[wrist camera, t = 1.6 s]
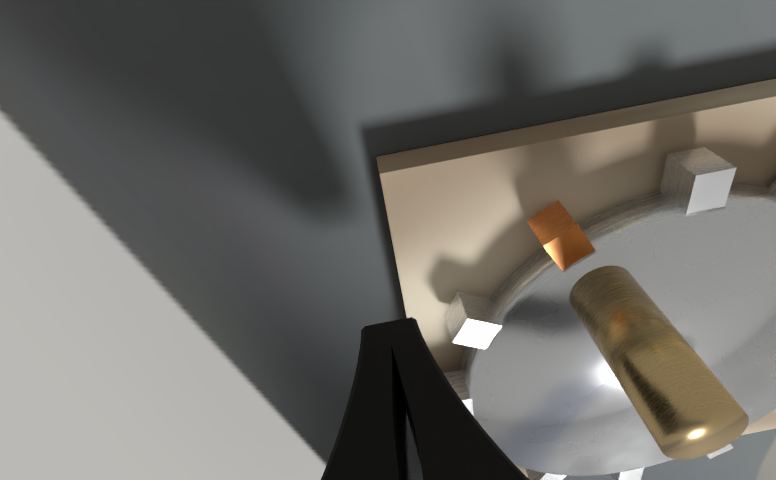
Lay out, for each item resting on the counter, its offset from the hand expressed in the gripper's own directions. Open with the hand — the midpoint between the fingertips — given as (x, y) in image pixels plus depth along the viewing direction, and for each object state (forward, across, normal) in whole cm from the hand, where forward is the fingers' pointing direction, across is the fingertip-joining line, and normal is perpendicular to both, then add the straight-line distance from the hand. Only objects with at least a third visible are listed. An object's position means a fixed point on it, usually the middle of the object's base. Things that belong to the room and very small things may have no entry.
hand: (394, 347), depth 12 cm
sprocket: (+2, -9, +5) cm, 10 cm away
